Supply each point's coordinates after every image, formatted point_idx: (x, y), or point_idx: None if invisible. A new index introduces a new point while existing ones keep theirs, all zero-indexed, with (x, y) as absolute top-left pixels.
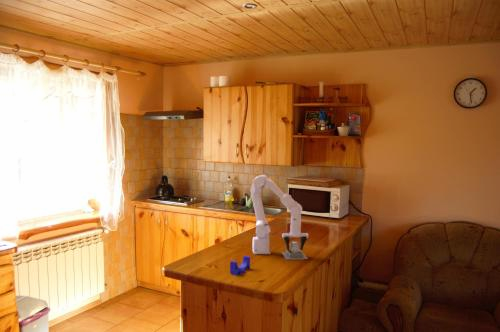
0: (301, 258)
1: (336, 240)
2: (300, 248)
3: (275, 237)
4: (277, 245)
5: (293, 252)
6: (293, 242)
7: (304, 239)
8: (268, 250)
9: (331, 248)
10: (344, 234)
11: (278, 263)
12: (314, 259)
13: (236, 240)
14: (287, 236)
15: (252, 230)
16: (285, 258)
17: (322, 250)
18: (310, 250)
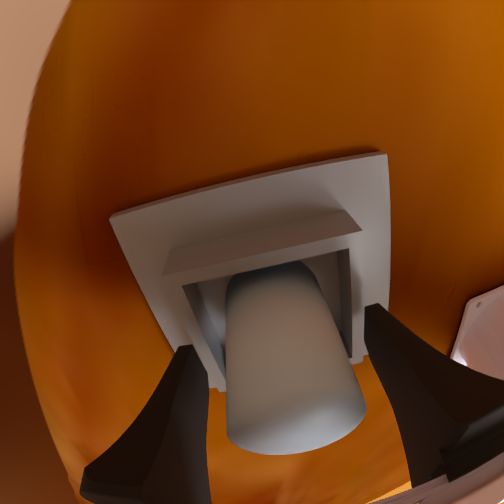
0: (187, 196)
1: (79, 480)
2: (204, 379)
3: (330, 488)
4: (355, 442)
5: (301, 287)
6: (317, 435)
7: (112, 483)
8: (478, 330)
9: (50, 432)
10: (82, 498)
11: (460, 34)
12: (54, 231)
13: None
14: (463, 479)
15: (389, 491)
16: (385, 197)
17: (74, 417)
18: None
